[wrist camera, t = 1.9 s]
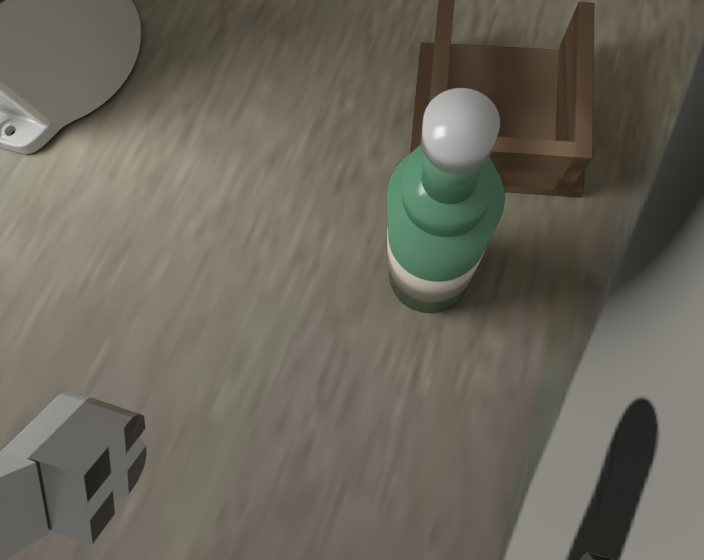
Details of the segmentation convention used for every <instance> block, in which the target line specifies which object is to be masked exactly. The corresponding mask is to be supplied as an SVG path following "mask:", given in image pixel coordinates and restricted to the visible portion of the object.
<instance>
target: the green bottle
mask: <svg viewBox="0 0 704 560" xmlns="http://www.w3.org/2000/svg"><path fill="white" fill-rule="evenodd" d="M499 129H500V117H499V113H498V110H497V108H496V106H495V105H494V103H493V102H492V101H491V100H490V99H489V98H488V97H487V96H485V95H484V94H482V93H480V92H478V91H475V90H472V89H467V88H455V89H450V90H447V91H444V92H442V93H440V94H439V95H437V96H436V97H435V98H434V99H433V100H432V101H431V102H430V103H429V105H428V106H427V108H426V110H425V113H424V117H423V126H422V137H421V145H420V146H418V147H417V148H416V149H415V150H414V151H413V152H412V153H410V154H409V155H408V156H406V157H405V158H404V159H403V160H402V161H401V162H400V163H399V164H398V166H397V167H396V169H395V170H394V172H393V174H392V176H391V178H390V181H389V184H388V190H387V215H388V229H387V246H388V266H389V279H390V284H391V287H392V290H393V292H394V293H395V295H396V296H397V298H398V299H399V300H400V301H401V302H402V303H403V304H405V305H406V306H407V307H409V308H411V309H413V310H416V311H419V312H425V313H433V312H439V311H442V310H445V309H447V308H449V307H451V306H452V305H454V304H455V303H456V302H457V301H458V300H459V299H460V298H461V296H462V295H463V293H464V291H465V289H466V287H467V285H468V284H469V282H470V281H471V279H472V277H473V275H474V273H475V271H476V269H477V267H478V265H479V263H480V261H481V259H482V257H483V254H484V252H485V249H486V246H487V244H488V242H489V240H490V238H491V236H492V234H493V232H494V230H495V228H496V226H497V224H498V222H499V220H500V218H501V215H502V212H503V208H504V201H505V197H504V188H503V184H502V180H501V178H500V176H499V174H498V172H497V170H496V169H495V167H494V165H493V162H492V160H491V159H490V155H491V153H492V150H493V147H494V144H495V141H496V138H497V136H498V132H499Z"/></svg>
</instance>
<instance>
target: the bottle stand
mask: <svg viewBox="0 0 704 560" xmlns="http://www.w3.org/2000/svg"><path fill="white" fill-rule="evenodd" d="M453 9H454V0H439V4H438V13H437V23H436V32H435V42H434V43H424V42H421V46H420V57H419V67H418V78H417V89H416V99H415V110H414V120H413V131H412V142H411V152H410V153H412V152H413V151H414V150H415V149H416V148H417V147H418V146H420V145H421V137H422V126H423V117H424V113H425V110H426V108H427V106H428V105H429V103H430V102H431V101H432V100H433V99H434V98H435V97H436V96H437V95H439V94H440V93H442V92H444V91H447V90H450V89H455V88H467V89H472V90H475V91H478V92H480V93H482V94H484V95H485V96H487V97H488V98H489V99H490V100H491V101H492V102H493V103H494V105H495V106H496V108H497V110H498V113H499V117H500V129H499V132H498V136H497V138H496V141H495V144H494V147H493V150H492V153H491V155H490V159H491V160H492V162H493V165H494V167H495V169H496V170H497V172H498V174H499V176H500V178H501V180H502V184H503V188H504V192H514V193H527V194H540V195H554V196H567V197H580V196H581V195H582V194H583V192H584V169H585V168H586V166H587V165H588V163H589V162H590V161H591V159H592V137H593V69H594V3H588V2H578V5H577V7H576V9H575V12H574V14H573V16H572V19H571V21H570V23H569V26H568V28H567V30H566V33H565V35H564V37H563V40H562V42H561V44H560V47H559V49H558V50H553V49H535V48H516V47H498V46H479V45H461V44H451V34H452V22H453Z"/></svg>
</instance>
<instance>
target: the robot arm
mask: <svg viewBox="0 0 704 560" xmlns="http://www.w3.org/2000/svg"><path fill="white" fill-rule="evenodd" d="M140 42H141V25H140V19H139V15H138V12H137V9H136V7H135V5H134V3H133V1H132V0H0V148H4V149H7V150H11V151H15V152H18V153H22V154H30V153H33V152H35V151H37V150H39V149H40V148H41V147H43V146H44V145H45V144H46V143H47V142H48V141H49V140H50V139H51V138H52V137H53V136H54V135H55V134H56V133H57V132H58V131H59V130H60V129H61V128H62V127H64V126H65V125H67V124H69V123H71V122H72V121H75V120H77V119H79V118H81V117H83V116H85V115H87V114H88V113H90V112H92V111H93V110H95V109H97V108H98V107H99V106H101V105H102V104H103V103H105V102H106V101H107V100H108V99H109V98H110V97H111V96H113V95H114V94H115V92H116V91H117V90H118V89H119V88H120V87H121V86H122V84H123V83H124V82H125V80H126V79H127V77H128V75H129V74H130V72H131V70H132V68H133V66H134V64H135V62H136V59H137V56H138V52H139V48H140ZM15 130H16V131H15ZM13 131H15V133H14V134H13V135H11V133H12V132H13ZM10 135H11V136H10ZM144 430H145V420H144V416H143V415H141V414H138V413H136V412H133V411H130V410H127V409H124V408H121V407H118V406H115V405H112V404H109V403H106V402H103V401H100V400H98V399H95V398H91V397H88V396H85V395H82V394H79V393H76V392H73V391H70V390H69V391H66V392H64V393H62V394H60V395H59V396H58V397H57V398H55V399H54V400H53V401H52V402H51V403H50V404H49V405H48V406H47V407H46V408H45V409H44V410H43V411H42V412H41V413H40V414H39V415H38V416H37V417H36V418H35V419H34V420H33V421H32V422H31V423H30V424H29V425H28V426H27V427H26V428H25V429H23V430H22V431H21V432H20V433H19V434H18V435H17V436H16V437H15V438H14V439H13V440H12V441H11V442H10V443H9V444H8V445H7V446H6V447H5V448H4V449H3V450H0V560H6V559H8V558H9V557H11V556H13V555H14V554H16V553H18V552H19V551H21V550H23V549H24V548H26V547H28V546H29V545H31V544H33V543H34V542H36V541H38V540H39V539H41V538H43V537H44V536H46V535H48V534H49V531H52V532H55V533H59V534H62V535H65V536H68V537H71V538H75V539H78V540H81V541H84V542H87V543H90V544H93V543H94V542H95V540H96V539H97V538H98V536H99V535H100V533H101V532H102V531H103V529H104V528H105V527H106V525H107V524H108V522H109V521H110V520H111V518H112V517H113V516H114V514H115V510H114V501H116V500H118V499H120V498H122V497H124V496H126V495H128V494H129V493H130V492H131V490H132V489H133V487H134V486H135V484H136V483H137V482H138V479H139V477H140V475H141V473H142V470H143V468H144V465H145V460H146V445H145V443H144V442H143V440H142V439H141V438H140V435H141V434H142V432H143V431H144ZM581 560H613V559H609V558H606V557H603V556H599V555H596V554H593V553H589V552H588V553H586V554H584V555H583V556H582V558H581Z"/></svg>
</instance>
